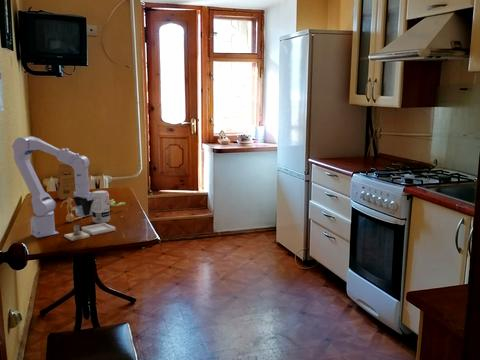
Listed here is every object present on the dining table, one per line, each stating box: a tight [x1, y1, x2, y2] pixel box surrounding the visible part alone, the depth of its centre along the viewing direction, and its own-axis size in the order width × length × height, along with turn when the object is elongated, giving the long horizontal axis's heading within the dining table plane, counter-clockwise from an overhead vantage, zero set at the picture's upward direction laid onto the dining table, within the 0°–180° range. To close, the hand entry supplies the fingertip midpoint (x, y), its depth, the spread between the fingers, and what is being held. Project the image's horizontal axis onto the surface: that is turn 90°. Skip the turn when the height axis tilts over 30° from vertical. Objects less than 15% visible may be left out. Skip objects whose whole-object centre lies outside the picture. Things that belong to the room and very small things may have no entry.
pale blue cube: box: [74, 205, 92, 218], centre depth 201 cm, size 5×6×4 cm
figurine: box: [60, 197, 75, 223], centre depth 225 cm, size 8×6×12 cm
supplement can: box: [91, 190, 111, 224], centre depth 225 cm, size 8×8×15 cm
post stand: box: [63, 224, 91, 242], centre depth 200 cm, size 8×8×5 cm
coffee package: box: [56, 162, 76, 201], centre depth 280 cm, size 10×12×22 cm
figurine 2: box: [72, 198, 126, 212], centre depth 249 cm, size 18×27×6 cm
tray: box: [81, 222, 116, 236], centre depth 210 cm, size 11×11×2 cm
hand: (83, 213), depth 202 cm, fingers closed on pale blue cube, 5 cm apart
